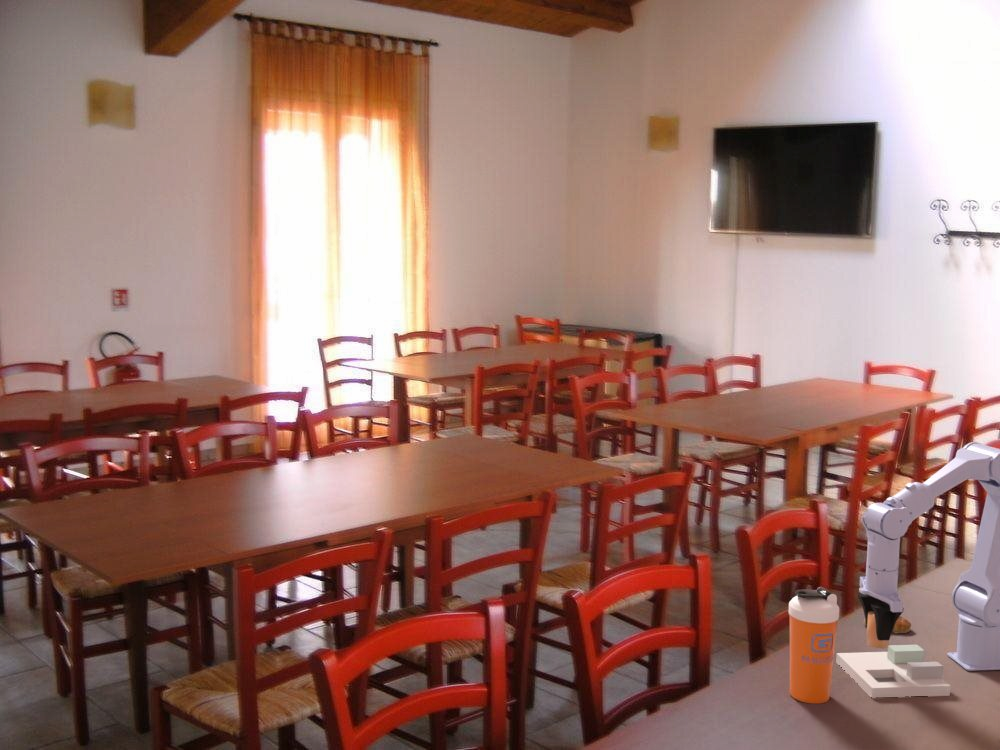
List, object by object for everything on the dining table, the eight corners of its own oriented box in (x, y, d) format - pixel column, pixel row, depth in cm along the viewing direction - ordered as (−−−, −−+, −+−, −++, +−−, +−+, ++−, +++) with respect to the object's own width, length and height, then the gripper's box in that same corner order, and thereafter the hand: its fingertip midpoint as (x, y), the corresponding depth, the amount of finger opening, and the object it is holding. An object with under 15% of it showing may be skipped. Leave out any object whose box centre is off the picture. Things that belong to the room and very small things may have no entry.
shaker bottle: (774, 689, 193) (779, 586, 190) (812, 681, 197) (817, 580, 194) (806, 709, 185) (811, 602, 182) (845, 701, 189) (851, 596, 186)
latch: (916, 656, 204) (917, 644, 203) (923, 662, 201) (924, 650, 200) (887, 657, 203) (887, 645, 203) (894, 663, 200) (894, 651, 200)
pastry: (913, 628, 225) (914, 611, 224) (906, 638, 219) (907, 621, 219) (869, 619, 230) (870, 602, 229) (861, 628, 224) (862, 612, 224)
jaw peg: (883, 640, 200) (884, 610, 200) (892, 648, 196) (893, 617, 196) (863, 640, 200) (864, 610, 199) (871, 648, 196) (873, 617, 195)
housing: (908, 660, 207) (909, 639, 206) (949, 695, 191) (951, 672, 191) (836, 662, 206) (837, 641, 205) (871, 698, 190) (872, 675, 189)
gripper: (846, 555, 203) (842, 621, 205) (878, 579, 189) (874, 650, 191) (881, 554, 204) (877, 620, 205) (915, 578, 189) (911, 649, 191)
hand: (878, 635), depth 198 cm, fingers closed on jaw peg, 4 cm apart
